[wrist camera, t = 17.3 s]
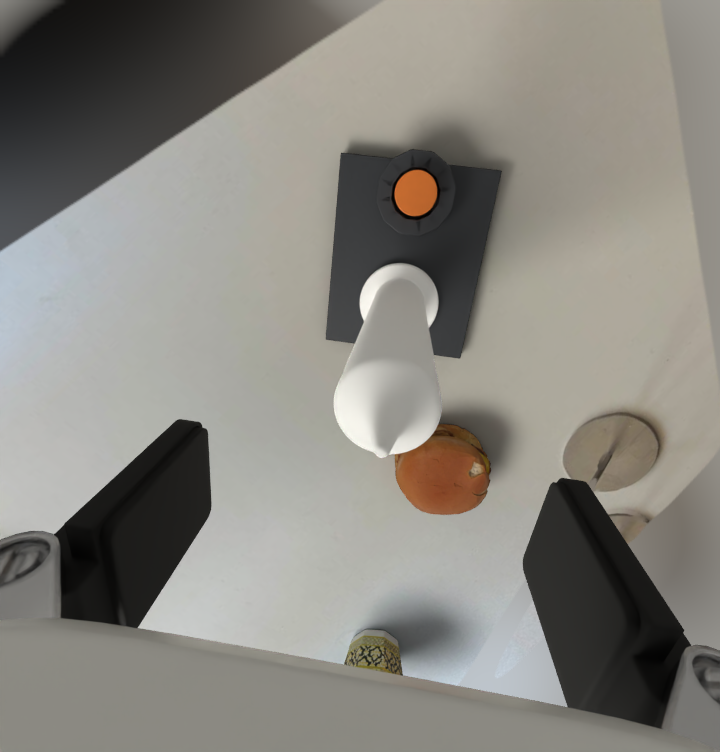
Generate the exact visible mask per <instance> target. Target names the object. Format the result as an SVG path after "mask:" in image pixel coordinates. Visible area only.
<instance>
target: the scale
mask: <svg viewBox="0 0 720 752" xmlns="http://www.w3.org/2000/svg"><path fill="white" fill-rule="evenodd" d="M412 170H423V171H425V172H427V173H429V174H430V175H431V176H432V177H433V178H434V180H435V182H436V185H437V198H436V201H435V203H434V205H433V207H432V208H431V209H430V210H429V211H428V212H426V213H425V214H423V215H420V216H410V215H407V214H405V213H404V212H402V211H401V210H400V209H399V207H398V206H397V203H396V201H395V188H396V185H397V183H398V181H399V179H400V178H401V177H402V176H403V175H404V174H405V173H407V172H409V171H412ZM501 172H502V171H501V170H492V169H483V168H474V167H465V166H456V165H448V164H447V163H446V162H445V161H443V160H442V159H441V158H440V157H439V156H438V155H436V154H435V153H434V152H432V151H423V150H414V149H412V150H409V151H407V152H405V153H403V154H401V155H399V156H397V157H395V158H384V157H375V156H367V155H358V154H349V153H341V158H340V170H339V183H338V195H337V207H336V220H335V232H334V244H333V256H332V269H331V281H330V293H329V306H328V318H327V330H326V339H327V340H334V341H341V342H348V343H355V342H356V340H357V337H358V335H359V333H360V330H361V328H362V325H363V323H364V320H363V318H362V315H361V311H360V295H361V291H362V288H363V286H364V284H365V283H366V281H367V280H368V278H369V277H370V276H371V275H372V274H373V273H374V272H375V271H377V270H378V269H380V268H381V267H383V266H386V265H389V264H394V263H406V264H410V265H413V266H416V267H418V268H420V269H421V270H423V271H424V272H425V273H426V274H427V275H428V276H429V277H430V278H431V280H432V281H433V283H434V285H435V287H436V290H437V293H438V300H439V303H438V311H437V314H436V317H435V319H434V321H433V323H432V324H431V326H430V327H429V332H430V338H431V343H432V349H433V354H434V355H439V356H446V357H453V358H460V357H461V353H462V348H463V344H464V339H465V335H466V330H467V326H468V321H469V317H470V312H471V307H472V303H473V298H474V294H475V289H476V285H477V280H478V276H479V271H480V267H481V262H482V258H483V253H484V249H485V244H486V240H487V235H488V231H489V226H490V222H491V217H492V213H493V208H494V204H495V199H496V195H497V190H498V186H499V181H500V177H501Z"/></svg>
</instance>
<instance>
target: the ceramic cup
mask: <svg viewBox="0 0 720 752" xmlns="http://www.w3.org/2000/svg"><path fill="white" fill-rule="evenodd" d="M344 665H348V666H353V667H359V668H364V669H370V670H375V671H380V672H386V673H391V674H397V675H402V676H403V674H402V667H401V660H400V651H399V645H398V641H397V639H395V638H394V637H393V636H391V635H390V634H389V633H387V632H386V631H383V630H369V629H366V630H364V631H362V632H361V633H359V634H358V635H356V636H355V637H354V638H353V639H352V641H351V644H350V647H349V651H348V654H347V657H346V660H345V663H344Z"/></svg>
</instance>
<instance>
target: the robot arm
mask: <svg viewBox="0 0 720 752" xmlns="http://www.w3.org/2000/svg"><path fill="white" fill-rule="evenodd" d="M210 511H211V486H210V466H209V446H208V431H207V429H205V428H202V425H201V423H200V422H195V421H188V420H182V419H179V420H177V421H175V422H174V423H173V424H172V425H171V426H170V427H169V428H168V429H167V430H166V431H165V432H163V433H162V434H161V435H160V436H159V437H158V438H157V439H156V440H155V441H154V442H153V443H152V444H150V445H149V446H148V447H147V448H146V449H145V450H144V451H143V452H142V453H141V454H140V455H138V456H137V457H136V458H135V459H134V460H133V461H132V462H131V463H130V464H129V465H128V466H127V467H125V468H124V469H123V470H122V471H121V472H120V473H119V474H118V475H117V476H116V477H115V478H114V479H112V480H111V481H110V482H109V483H108V484H107V485H106V486H105V487H104V488H103V489H102V490H101V491H99V492H98V493H97V494H96V495H95V496H94V497H93V498H92V499H91V500H90V501H89V502H88V503H86V504H85V505H84V506H83V507H82V508H81V509H80V510H79V511H78V512H77V513H76V514H75V515H73V516H72V517H71V518H70V519H69V520H68V521H67V522H66V523H65V524H64V526H63V527H62V528H61V529H60V530H58V531H57V532H56V533H55V534H54V535H53V534H52V533H48V532H44V531H29V532H24V533H19V534H15V535H12V536H9V537H7V538H4V539H1V540H0V752H720V650H717V649H714V648H711V647H708V646H702V645H693V646H691V644H690V643H689V641H688V640H687V638H686V637H685V635H684V634H683V632H684V629H683V628H682V626H681V625H680V623H679V622H678V620H677V619H676V617H675V616H674V614H673V613H672V611H671V610H670V608H669V607H668V605H667V604H666V602H665V600H664V599H663V597H662V596H661V594H660V593H659V592H658V590H657V589H656V587H655V585H654V584H653V582H652V581H651V579H650V578H649V576H648V575H647V573H646V572H645V570H644V569H643V567H642V566H641V564H640V563H639V561H638V560H637V558H636V557H635V555H634V553H633V552H632V550H631V549H630V547H629V546H628V544H627V543H626V541H625V540H624V538H623V537H622V535H621V534H620V532H619V531H618V529H617V528H616V526H615V525H614V523H613V522H612V520H611V519H610V517H609V516H608V514H607V513H606V511H605V509H604V508H603V506H602V505H601V503H600V502H599V500H598V499H597V497H596V496H595V494H594V493H593V491H592V490H591V488H590V487H589V485H588V484H587V483H586V482H584V481H579V480H572V479H566V478H561V479H559V480H558V482H557V483H555V482H553V483H552V484H551V485H550V487H549V490H548V493H547V495H546V498H545V501H544V503H543V506H542V509H541V511H540V514H539V517H538V519H537V522H536V525H535V527H534V530H533V533H532V535H531V538H530V541H529V544H528V546H527V549H526V552H525V554H524V558H523V570H524V574H525V577H526V580H527V583H528V586H529V589H530V591H531V595H532V598H533V601H534V604H535V607H536V611H537V614H538V617H539V620H540V623H541V626H542V629H543V632H544V635H545V638H546V641H547V644H548V647H549V650H550V653H551V657H552V660H553V663H554V666H555V669H556V672H557V675H558V678H559V681H560V684H561V688H562V691H563V694H564V697H565V700H566V703H567V706H568V707H563V706H558V705H553V704H549V703H544V702H539V701H534V700H528V699H523V698H518V697H512V696H507V695H502V694H497V693H492V692H486V691H481V690H476V689H471V688H466V687H460V686H455V685H450V684H445V683H439V682H434V681H429V680H424V679H418V678H413V677H407V676H402V675H397V674H391V673H386V672H380V671H375V670H370V669H364V668H359V667H353V666H348V665H343V664H337V663H332V662H326V661H321V660H315V659H310V658H304V657H299V656H293V655H288V654H283V653H277V652H271V651H266V650H260V649H255V648H249V647H243V646H238V645H232V644H226V643H221V642H215V641H210V640H204V639H198V638H193V637H187V636H182V635H176V634H170V633H164V632H158V631H151V630H145V629H139V628H138V626H139V625H140V623H141V622H142V620H143V619H144V617H145V615H146V614H147V612H148V611H149V609H150V608H151V606H152V604H153V603H154V601H155V600H156V598H157V597H158V595H159V594H160V592H161V590H162V589H163V587H164V586H165V584H166V583H167V581H168V579H169V578H170V576H171V575H172V573H173V572H174V570H175V569H176V567H177V565H178V564H179V562H180V561H181V559H182V558H183V556H184V555H185V553H186V551H187V550H188V548H189V547H190V545H191V544H192V542H193V540H194V539H195V537H196V536H197V534H198V533H199V531H200V530H201V528H202V526H203V525H204V523H205V522H206V520H207V518H208V517H209V514H210Z"/></svg>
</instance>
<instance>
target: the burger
mask: <svg viewBox="0 0 720 752" xmlns="http://www.w3.org/2000/svg"><path fill="white" fill-rule="evenodd" d="M490 465H491V464H490V461H489V460H488V458H487V455H486V453H485V452H484V451H483V449H482V447H481V444H480V442H479V441H478V439H477V438H476V437H475V436H474V435H473V434H471V433H470V432H469V431H467V430H466V429H461V428H460V427H458V426H455V425H450V424H439V425H438V426H437V428H436V430H435V431H434V433H433V434H432V435H431V437H430V438H429V439H428V440H427V441H425V442H424V443H423V444H422V445H420V446H419V447H417V448H415V449H413V450H410V451H408V452H404V453H400V454H395V467H396V479H397V482H398V485H399V487H400V489H401V490H402V492H403V493H404V494H405V496H406V498H407V499H408V500H409V501H410V502H411V503H412V504H413V505H414V506H415V507H416V508H417V509H419V510H421V511H423V512H427V513H430V514H441V515H449V514H460V513H463V512H466V511H469V510H471V509H473V508H475V507H477V506H478V505H479V504H480V503H481V502H482V500H483V499H484V498H485V496H486V494H487V492H488V491H487V488H488V486H489V483H490V480H489V474H490V472H491V468H490Z"/></svg>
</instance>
